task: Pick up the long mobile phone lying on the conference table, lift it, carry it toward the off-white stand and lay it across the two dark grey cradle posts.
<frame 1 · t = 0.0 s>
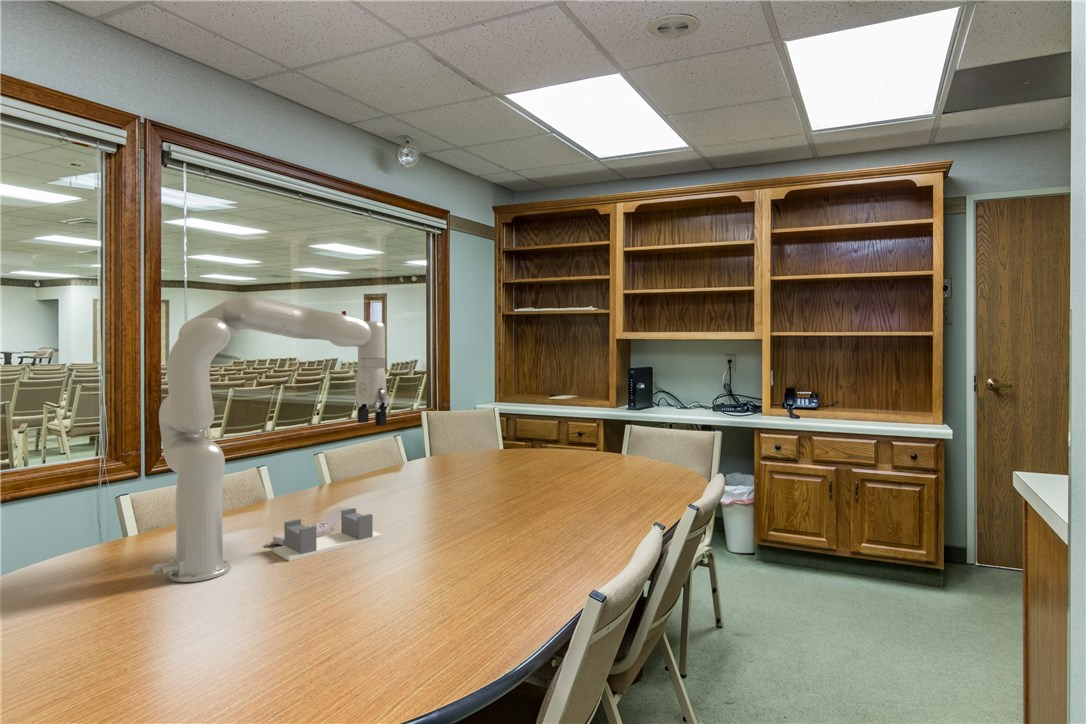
hand: (371, 424, 174), 31 cm above the table, tool pointing down, fingers open, 9 cm apart
cradle stand: (329, 544, 163), on the table
mobile phone: (311, 537, 171), on the table
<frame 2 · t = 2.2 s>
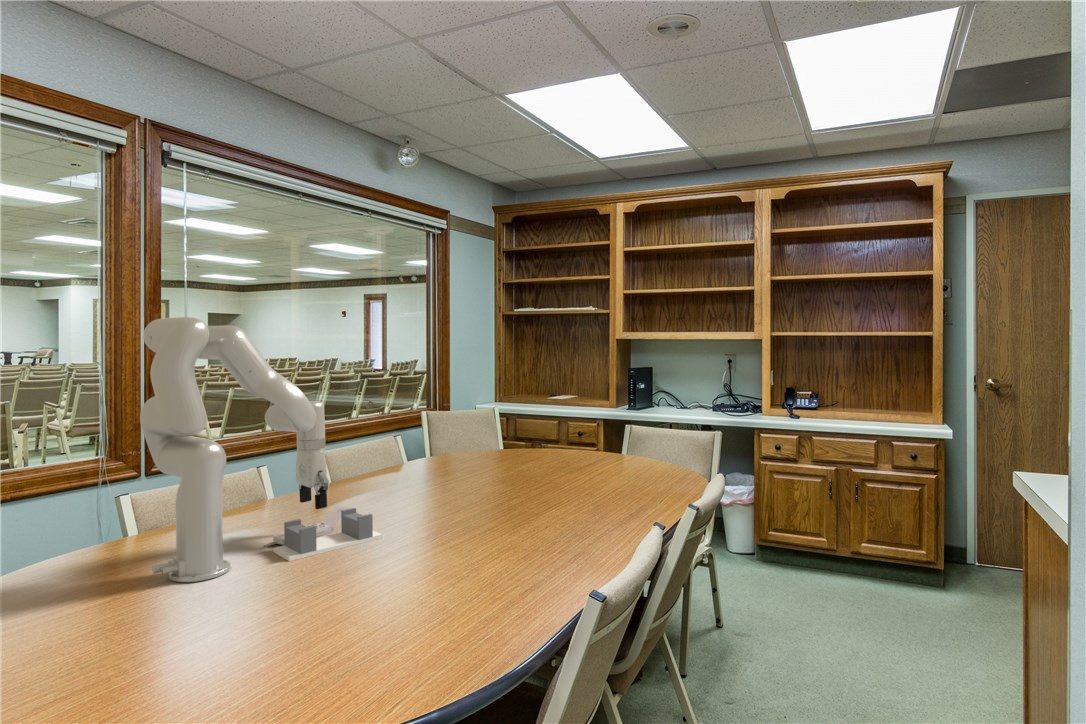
hand: (313, 504, 171), 9 cm above the table, tool pointing down, fingers open, 9 cm apart
nothing on the table moved.
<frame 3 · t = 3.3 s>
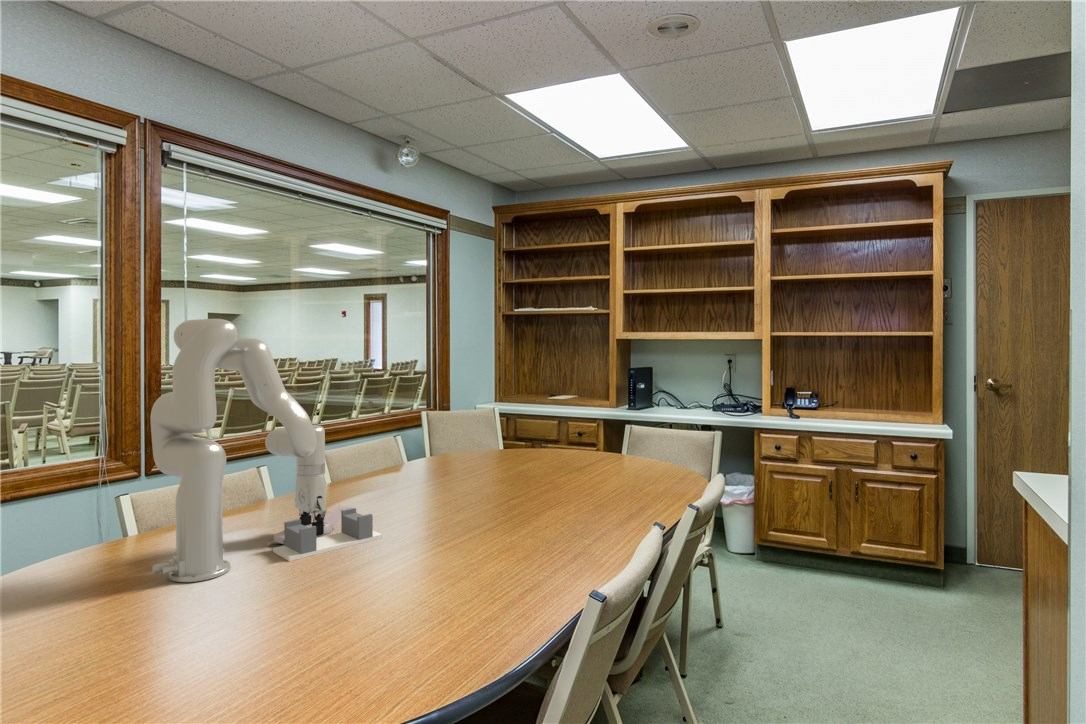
hand: (311, 532, 171), 1 cm above the table, tool pointing down, fingers closed on mobile phone, 6 cm apart
mobile phone: (312, 536, 171), on the table, touching gripper
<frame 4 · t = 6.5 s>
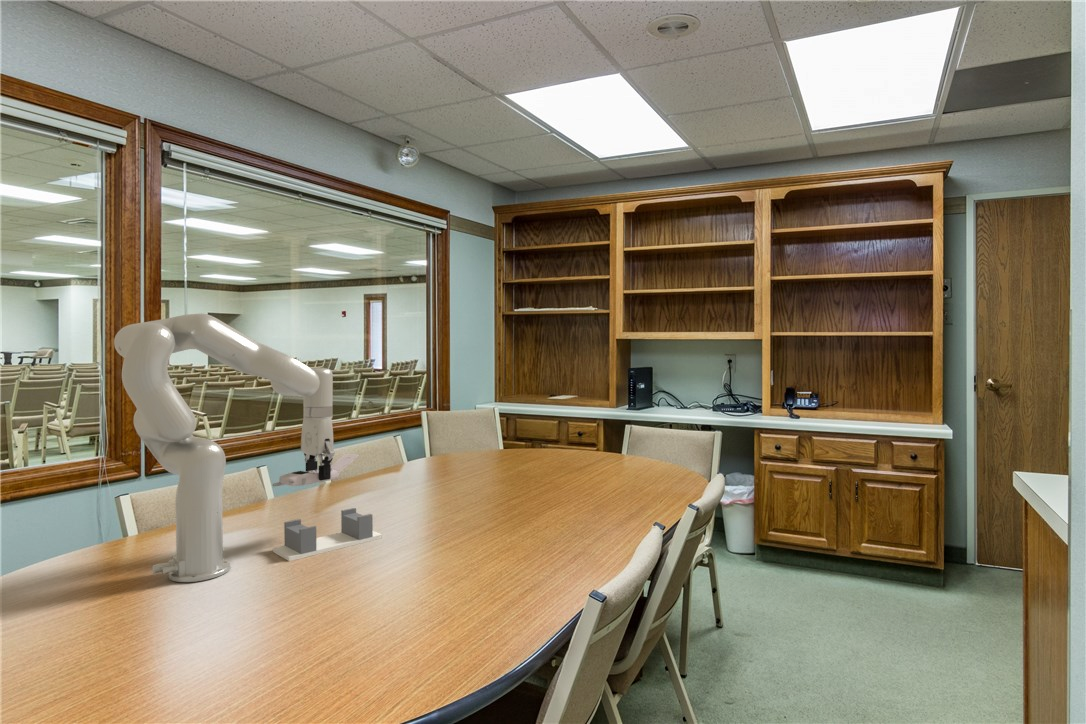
hand: (318, 477, 167), 17 cm above the table, tool pointing down, fingers closed on mobile phone, 6 cm apart
mobile phone: (318, 481, 167), point 16 cm above the table, touching gripper
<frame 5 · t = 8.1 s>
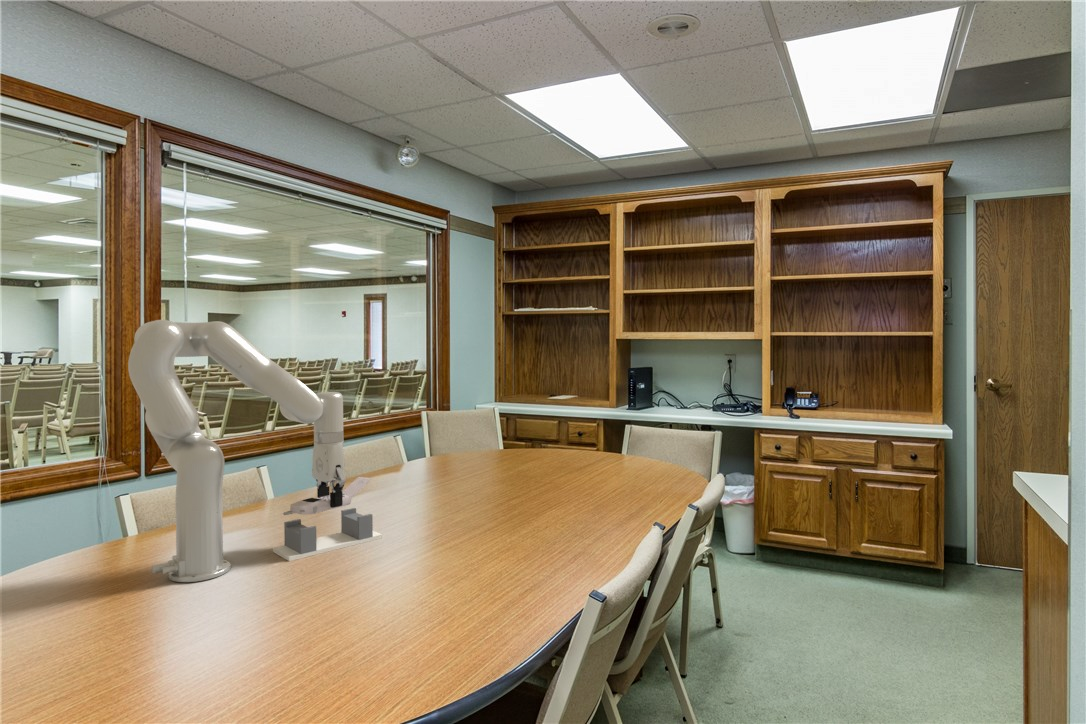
hand: (329, 503, 163), 11 cm above the table, tool pointing down, fingers closed on mobile phone, 6 cm apart
mobile phone: (330, 507, 163), point 10 cm above the table, touching gripper
when the fingers open (8 cm above the table, at t = 9.6 s): mobile phone drops 1 cm, resting on cradle stand.
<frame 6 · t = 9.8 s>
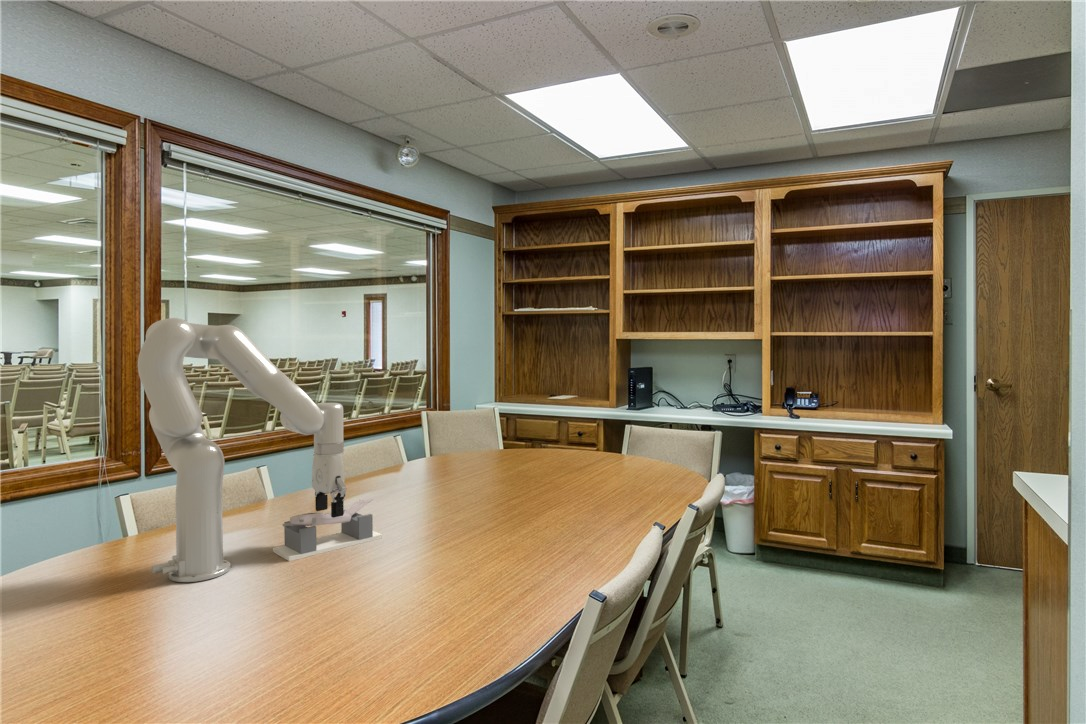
hand: (329, 513, 163), 9 cm above the table, tool pointing down, fingers open, 8 cm apart
mobile phone: (330, 524, 163), point 5 cm above the table, touching cradle stand
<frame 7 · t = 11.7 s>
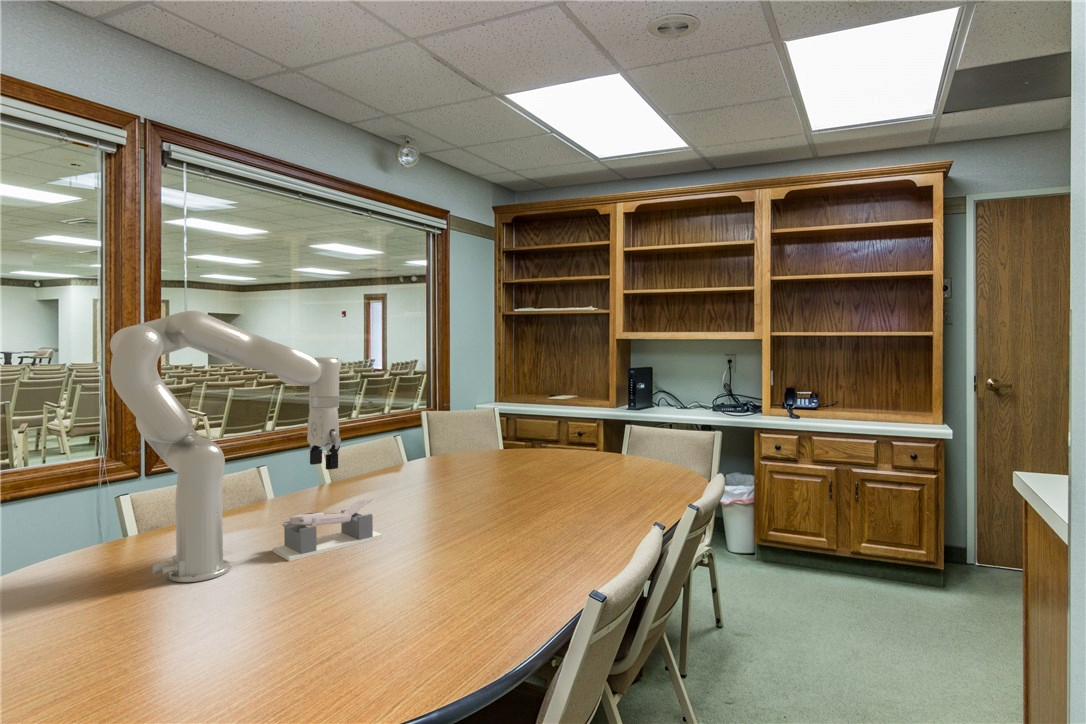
hand: (323, 466, 163), 21 cm above the table, tool pointing down, fingers open, 9 cm apart
nothing on the table moved.
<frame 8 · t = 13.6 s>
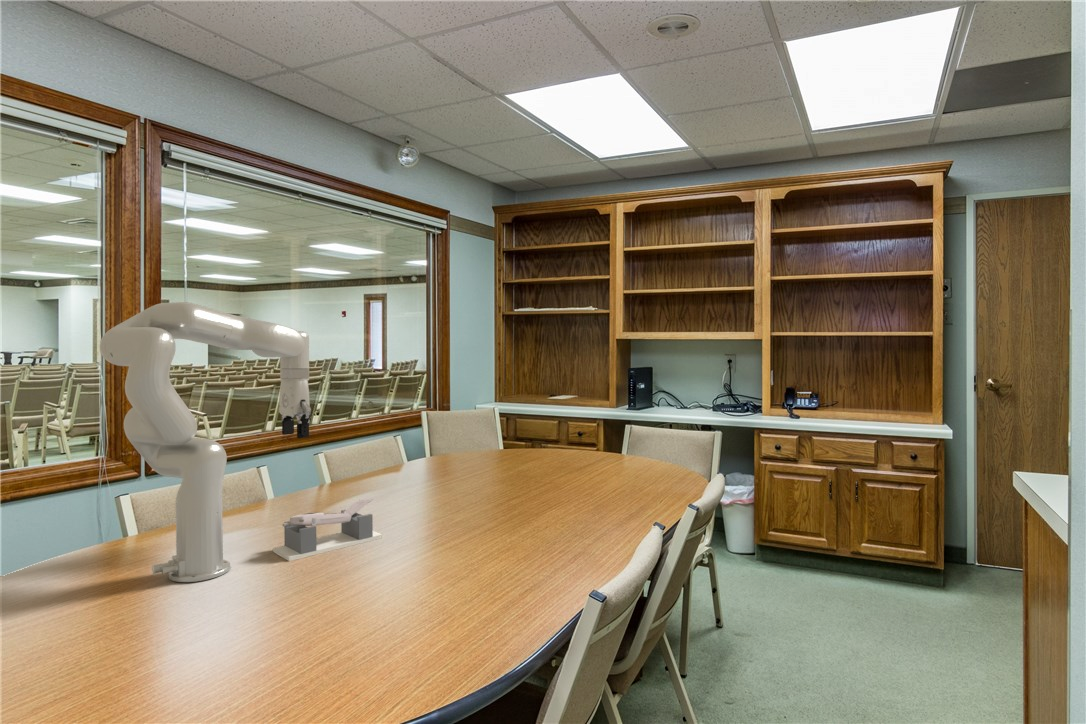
hand: (295, 435, 170), 28 cm above the table, tool pointing down, fingers open, 9 cm apart
nothing on the table moved.
at the end: mobile phone inside the target area on the cradle stand (0.1 cm from its centre), point 5.4 cm above the cradle stand's base; mobile phone tilted 12°; the gripper is holding nothing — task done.
